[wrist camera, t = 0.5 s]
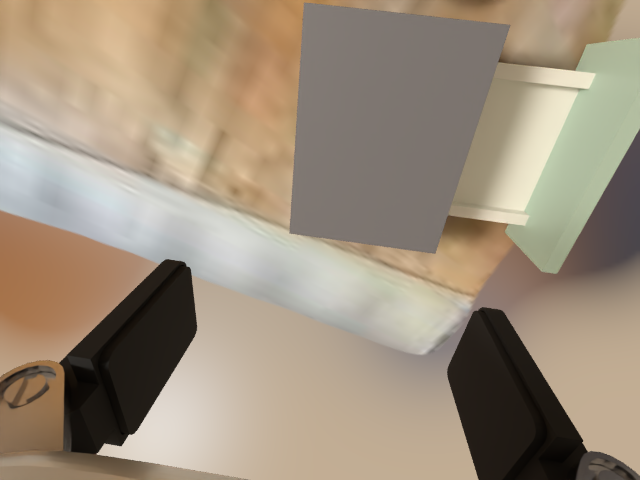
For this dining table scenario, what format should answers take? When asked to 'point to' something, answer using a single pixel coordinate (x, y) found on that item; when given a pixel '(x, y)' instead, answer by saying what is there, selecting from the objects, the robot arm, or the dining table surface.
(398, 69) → the grey drawer cabinet
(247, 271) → the dining table surface
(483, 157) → the green drawer
